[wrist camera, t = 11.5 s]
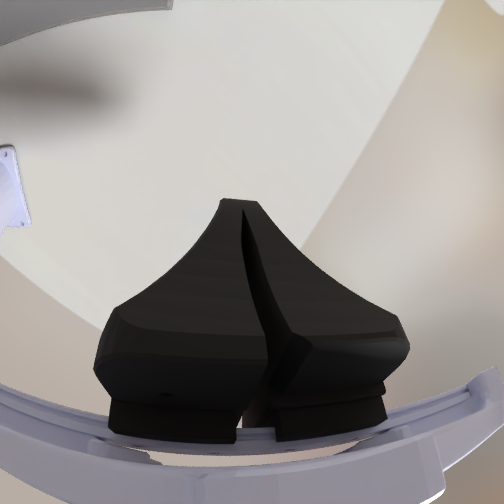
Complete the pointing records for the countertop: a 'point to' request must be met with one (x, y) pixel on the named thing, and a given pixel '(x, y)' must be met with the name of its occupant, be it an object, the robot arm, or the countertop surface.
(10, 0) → the collar board
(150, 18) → the countertop surface
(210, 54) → the countertop surface
